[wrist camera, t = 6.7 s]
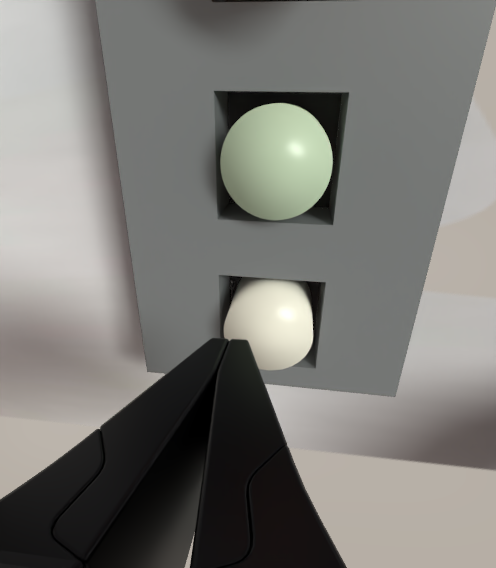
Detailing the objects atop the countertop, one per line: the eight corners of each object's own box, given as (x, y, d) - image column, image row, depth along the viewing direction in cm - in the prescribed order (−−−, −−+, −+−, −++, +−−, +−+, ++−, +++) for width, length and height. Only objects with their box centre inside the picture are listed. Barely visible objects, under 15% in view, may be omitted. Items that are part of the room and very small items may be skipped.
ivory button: (315, 267, 20) (317, 299, 17) (308, 334, 22) (309, 374, 19) (235, 261, 20) (222, 291, 17) (235, 328, 22) (224, 365, 19)
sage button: (332, 103, 16) (339, 104, 13) (322, 201, 18) (325, 222, 15) (234, 101, 17) (219, 102, 14) (235, 197, 19) (221, 217, 16)
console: (519, -236, 12) (582, -333, 9) (384, 362, 23) (395, 397, 20) (105, -202, 13) (56, -277, 11) (164, 341, 24) (147, 371, 21)
